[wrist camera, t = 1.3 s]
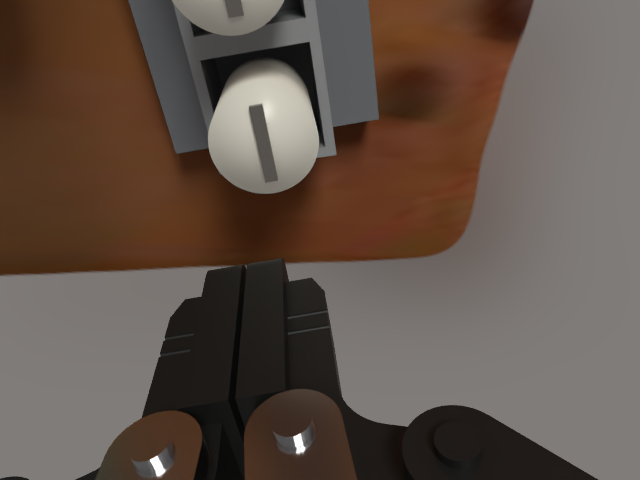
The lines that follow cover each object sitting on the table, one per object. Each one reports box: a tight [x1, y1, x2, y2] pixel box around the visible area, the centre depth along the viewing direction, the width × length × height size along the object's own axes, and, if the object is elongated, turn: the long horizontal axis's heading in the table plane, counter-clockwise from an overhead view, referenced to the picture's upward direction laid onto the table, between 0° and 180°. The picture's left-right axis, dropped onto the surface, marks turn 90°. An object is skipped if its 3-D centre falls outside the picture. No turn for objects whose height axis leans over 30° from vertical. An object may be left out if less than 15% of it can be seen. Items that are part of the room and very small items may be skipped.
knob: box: [208, 57, 319, 194], centre depth 21 cm, size 4×4×6 cm
